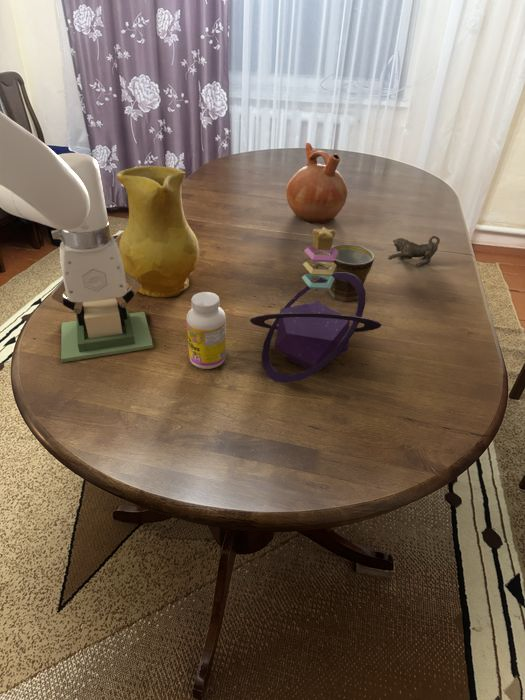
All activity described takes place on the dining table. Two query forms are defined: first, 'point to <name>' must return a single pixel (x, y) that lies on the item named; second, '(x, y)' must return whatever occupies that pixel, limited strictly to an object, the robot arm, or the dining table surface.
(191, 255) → the pitcher
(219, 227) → the dining table surface
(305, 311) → the purple faceted ringed piece
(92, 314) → the beige cube block
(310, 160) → the jug
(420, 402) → the dining table surface
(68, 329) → the green rectangular tray
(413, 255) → the dog figurine
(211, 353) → the supplement bottle
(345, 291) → the ceramic cup
